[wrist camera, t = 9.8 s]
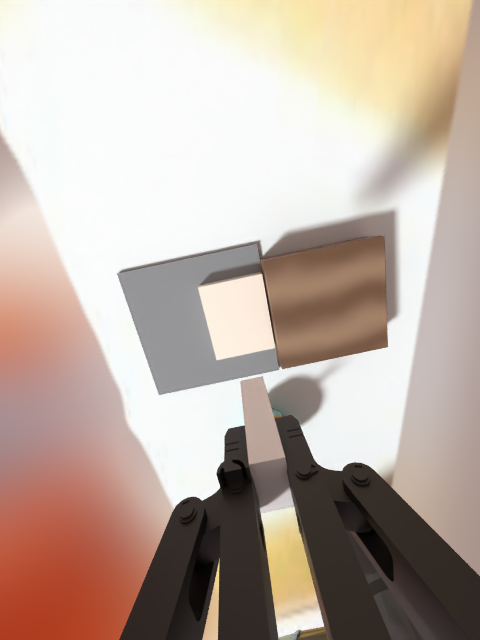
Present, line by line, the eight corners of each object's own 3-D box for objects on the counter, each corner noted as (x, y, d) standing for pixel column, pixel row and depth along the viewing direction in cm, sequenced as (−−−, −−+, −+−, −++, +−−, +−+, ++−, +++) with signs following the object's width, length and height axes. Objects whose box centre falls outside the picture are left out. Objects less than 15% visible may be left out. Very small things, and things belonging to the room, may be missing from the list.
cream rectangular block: (272, 342, 35) (275, 348, 33) (217, 354, 35) (216, 360, 34) (259, 272, 32) (262, 273, 31) (199, 285, 33) (197, 287, 31)
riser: (370, 336, 36) (387, 347, 33) (276, 356, 37) (282, 369, 33) (365, 236, 32) (384, 235, 29) (259, 259, 32) (263, 261, 29)
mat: (278, 368, 37) (279, 369, 37) (159, 393, 37) (159, 394, 37) (256, 243, 32) (257, 243, 31) (118, 273, 32) (117, 273, 32)
